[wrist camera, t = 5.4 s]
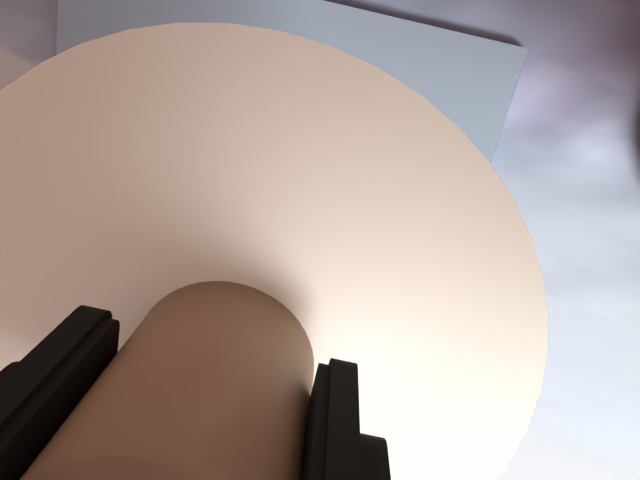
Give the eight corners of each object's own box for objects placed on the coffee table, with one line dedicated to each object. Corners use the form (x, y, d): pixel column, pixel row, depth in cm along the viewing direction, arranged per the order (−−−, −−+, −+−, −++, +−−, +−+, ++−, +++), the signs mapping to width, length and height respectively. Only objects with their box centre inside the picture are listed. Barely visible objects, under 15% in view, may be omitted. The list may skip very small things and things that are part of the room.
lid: (633, 109, 10) (995, 178, 4) (434, 593, 15) (488, 920, 9) (-72, -47, 10) (-642, -185, 4) (-44, 499, 15) (-291, 779, 9)
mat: (523, 48, 20) (528, 48, 20) (403, 416, 26) (404, 423, 26) (66, -59, 19) (59, -62, 19) (49, 348, 25) (43, 353, 25)
